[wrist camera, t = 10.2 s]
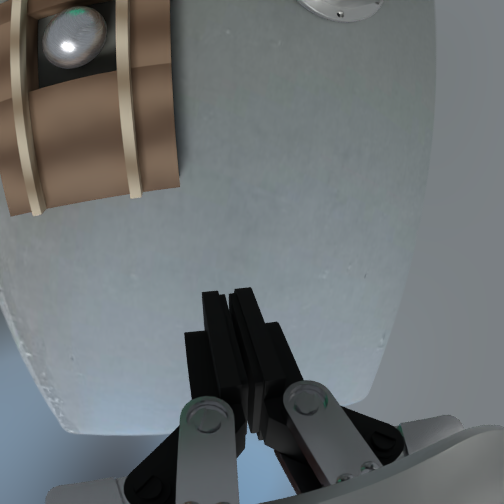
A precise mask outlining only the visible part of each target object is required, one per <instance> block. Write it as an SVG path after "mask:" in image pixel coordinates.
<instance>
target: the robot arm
mask: <svg viewBox="0 0 504 504" xmlns="http://www.w3.org/2000/svg"><path fill="white" fill-rule="evenodd" d="M297 1H298V2H299V3H300V4H301V5H302V6H303V7H305V8H306V9H307V10H309V11H310V12H312V13H314V14H316V15H317V16H319V17H322V18H325V19H327V20H331V21H336V22H346V23H349V22H356V21H360V20H363V19H366V18H368V17H370V16H372V15H373V14H374V13H376V12H377V11H378V10H379V8H380V7H381V6H382V4H383V1H384V0H297ZM337 14H338V16H337ZM202 302H203V315H204V327H205V331H195V332H185V333H184V335H185V346H186V355H187V364H188V373H189V381H190V389H191V397H192V400H191V401H190V402H188V403H187V404H186V405H185V406H184V408H183V409H182V412H181V415H180V425H179V426H178V427H177V428H176V429H175V430H174V431H173V432H172V433H171V434H170V435H169V436H168V437H167V438H166V439H165V440H164V441H163V442H162V443H161V444H160V445H159V446H158V447H157V448H156V449H155V450H154V451H153V452H152V453H151V454H150V455H149V456H148V457H147V458H146V459H145V460H143V461H142V462H141V463H140V464H139V465H138V466H137V467H136V468H135V469H134V470H133V471H132V472H131V473H130V474H129V475H128V476H127V477H122V478H117V479H116V478H115V477H110V478H105V479H100V480H94V481H88V482H81V483H75V484H67V485H59V486H57V487H53V488H52V489H51V490H50V491H49V492H48V494H47V496H46V504H239V492H238V476H237V461H236V459H237V457H238V456H239V455H240V454H241V452H242V451H243V450H244V449H245V435H246V434H247V421H248V425H249V429H250V432H251V433H257V436H258V439H259V440H264V443H265V445H267V446H269V447H271V448H273V449H274V452H275V455H276V457H277V459H278V461H279V462H280V464H281V466H282V468H283V470H284V472H285V474H286V475H287V477H288V479H289V481H290V483H291V485H292V487H293V488H294V490H295V492H296V494H297V495H295V496H291V497H287V498H283V499H278V500H274V501H269V502H264V503H259V504H504V427H503V426H499V425H482V426H476V427H472V428H468V429H465V430H464V427H463V425H462V423H461V422H460V420H459V419H457V418H456V417H454V416H451V415H442V416H437V417H433V418H428V419H422V420H416V421H411V422H405V423H400V424H399V426H392V425H390V424H388V423H384V422H382V421H379V420H376V419H374V418H371V417H368V416H366V415H363V414H360V413H358V412H355V411H352V410H350V409H347V408H345V407H343V406H340V405H339V403H338V402H337V401H336V399H335V398H334V396H333V395H332V393H331V392H330V391H329V390H328V389H327V388H326V387H325V386H324V385H322V384H320V383H318V382H315V381H308V380H303V378H302V375H301V373H300V371H299V368H298V366H297V364H296V361H295V359H294V357H293V354H292V352H291V350H290V348H289V345H288V343H287V341H286V338H285V336H284V334H283V331H282V329H281V327H280V325H279V323H278V322H271V323H265V322H264V319H263V317H262V314H261V312H260V309H259V306H258V304H257V301H256V299H255V296H254V293H253V291H252V288H251V287H249V288H239V289H235V291H234V293H232V294H229V309H228V305H227V301H226V297H225V294H222V295H219V293H218V291H209V292H202Z"/></svg>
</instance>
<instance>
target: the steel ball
mask: <svg viewBox="0 0 504 504" xmlns="http://www.w3.org/2000/svg"><path fill="white" fill-rule="evenodd" d="M106 37H107V25H106V22H105V20H104V18H103V16H102V15H101V14H100V13H99V12H98V11H97V10H95V9H93V8H91V7H87V6H75V7H71V8H68V9H65V10H63V11H62V12H60V13H58V14H57V15H56V16H55V17H54V18H53V19H52V20H51V21H50V22H49V24H48V25H47V27H46V29H45V31H44V34H43V38H42V48H43V52H44V55H45V56H46V58H47V59H48V61H49V62H51V63H52V64H53V65H55V66H57V67H60V68H65V69H71V68H77V67H80V66H83V65H85V64H87V63H88V62H90V61H91V60H92V59H94V58H95V57H96V56H97V55H98V53H99V52H100V51H101V49H102V48H103V46H104V44H105V41H106Z"/></svg>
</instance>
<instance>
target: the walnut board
mask: <svg viewBox="0 0 504 504" xmlns="http://www.w3.org/2000/svg"><path fill="white" fill-rule="evenodd" d="M106 1H111V0H8V1H6V2H4V3H2V4H0V174H1V179H2V183H3V188H4V192H5V196H6V200H7V204H8V208H9V212H10V216H15V215H20V214H24V213H29V212H32V214H33V216H37V215H42V213H43V212H44V211H45V210H46V209H48V208H53V207H58V206H63V205H68V204H73V203H79V202H84V201H90V200H96V199H102V198H108V197H114V196H120V195H126V194H130V197H131V199H132V198H139V197H142V193H143V192H146V191H153V190H161V189H168V188H176V187H180V181H179V171H178V160H177V149H176V136H175V123H174V108H173V91H172V71H171V43H170V0H116V60H117V71H111V72H106V73H101V74H96V75H91V76H87V77H82V78H78V79H74V80H70V81H66V82H62V83H58V84H54V85H51V86H47V87H44V88H40V89H39V77H38V47H37V35H38V20H39V19H42V18H45V17H48V16H51V15H54V14H58V13H60V12H62V11H63V10H65V9H68V8H71V7H75V6H88V5H92V4H97V3H101V2H106Z"/></svg>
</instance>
